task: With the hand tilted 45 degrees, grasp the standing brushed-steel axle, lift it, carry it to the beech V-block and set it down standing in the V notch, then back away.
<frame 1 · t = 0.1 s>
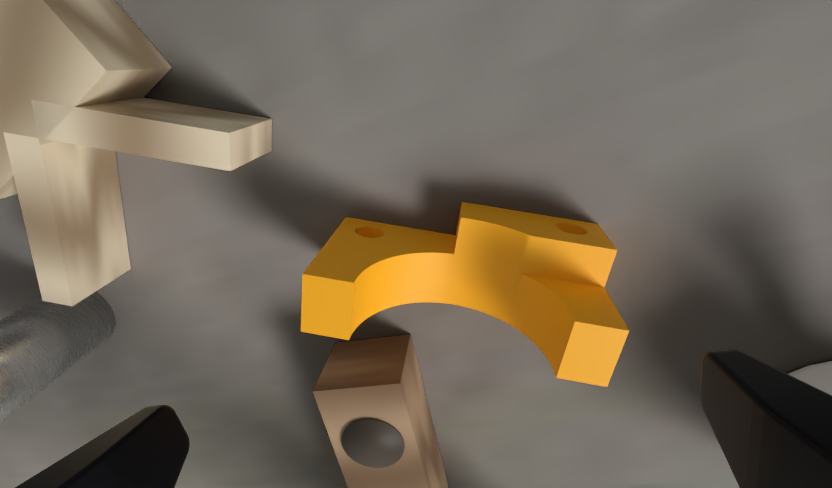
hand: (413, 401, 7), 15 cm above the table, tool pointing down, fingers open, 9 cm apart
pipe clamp: (463, 241, 22), on the table
beam: (395, 420, 27), on the table
axle: (83, 313, 26), on the table
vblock: (174, 192, 23), on the table
mug 2: (823, 383, 23), on the table
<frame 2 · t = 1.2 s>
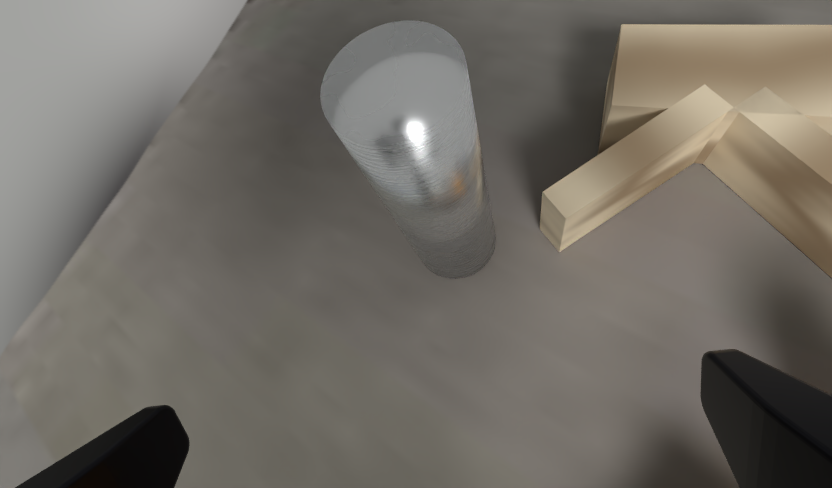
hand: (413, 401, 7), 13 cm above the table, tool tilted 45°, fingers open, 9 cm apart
axle: (455, 240, 23), on the table
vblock: (694, 241, 20), on the table
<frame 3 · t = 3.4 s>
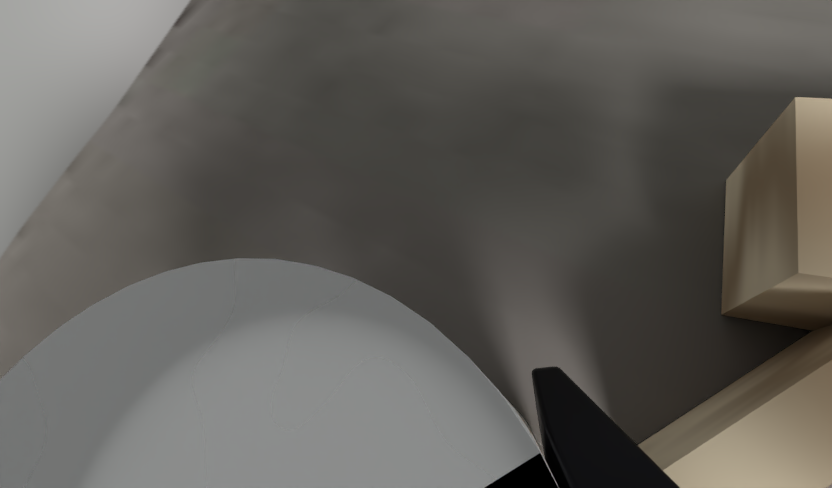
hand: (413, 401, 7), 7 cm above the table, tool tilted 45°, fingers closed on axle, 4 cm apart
axle: (468, 460, 13), on the table, touching gripper
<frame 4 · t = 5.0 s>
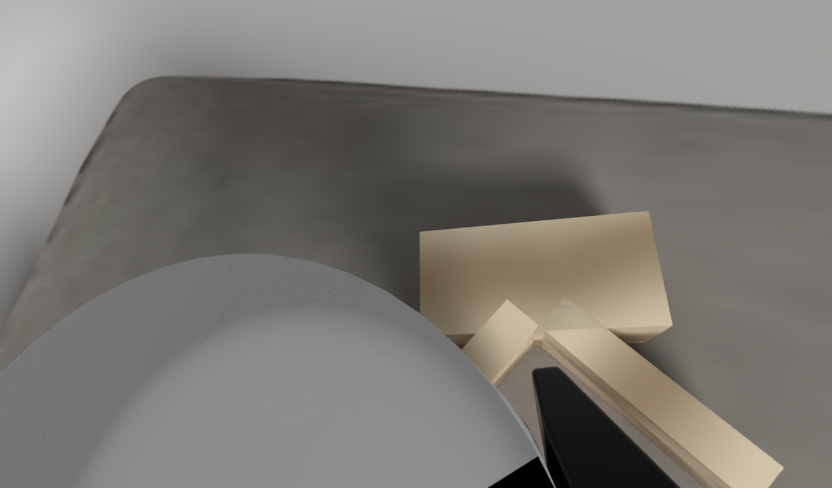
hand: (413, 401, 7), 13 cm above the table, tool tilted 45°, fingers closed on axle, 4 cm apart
axle: (467, 459, 13), point 7 cm above the table, touching gripper
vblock: (546, 443, 19), on the table
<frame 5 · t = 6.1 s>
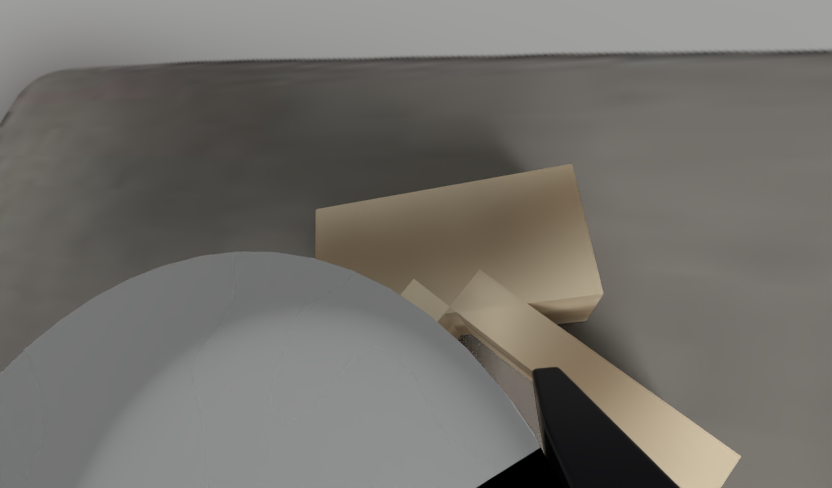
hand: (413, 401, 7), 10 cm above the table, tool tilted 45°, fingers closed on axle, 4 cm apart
axle: (468, 458, 13), point 3 cm above the table, touching gripper
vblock: (479, 447, 16), on the table
when the fingers open (7 cm above the table, at t = 6.9 s): axle stays where it is, on the table.
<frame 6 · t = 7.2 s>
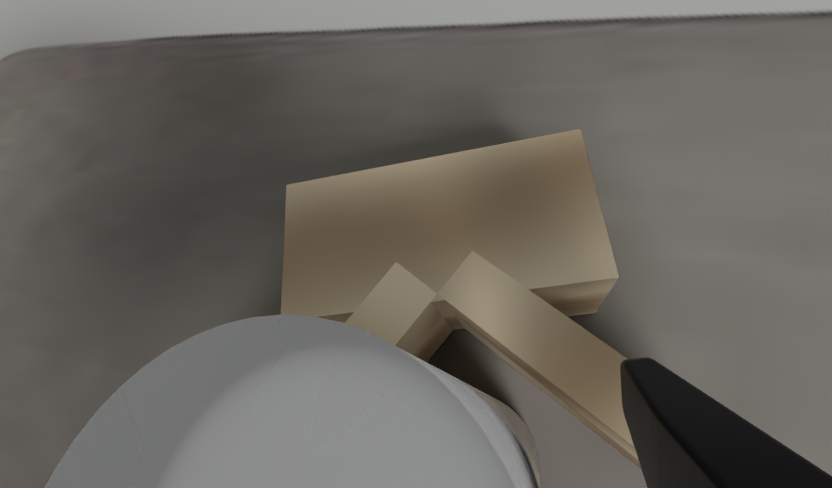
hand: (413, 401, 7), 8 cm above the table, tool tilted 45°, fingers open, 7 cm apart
axle: (471, 461, 14), on the table
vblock: (472, 457, 14), on the table
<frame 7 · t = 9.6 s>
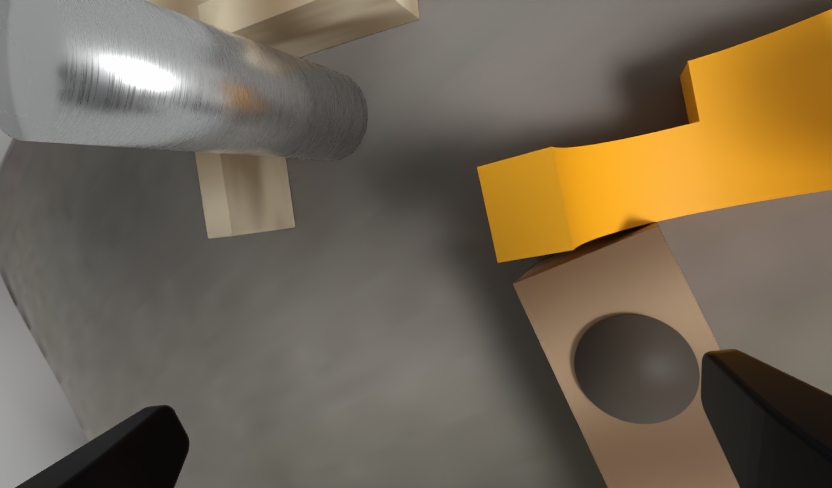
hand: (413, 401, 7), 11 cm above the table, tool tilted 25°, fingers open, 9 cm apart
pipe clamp: (707, 138, 15), on the table
beam: (663, 390, 16), on the table
axle: (330, 117, 21), on the table
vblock: (329, 115, 21), on the table
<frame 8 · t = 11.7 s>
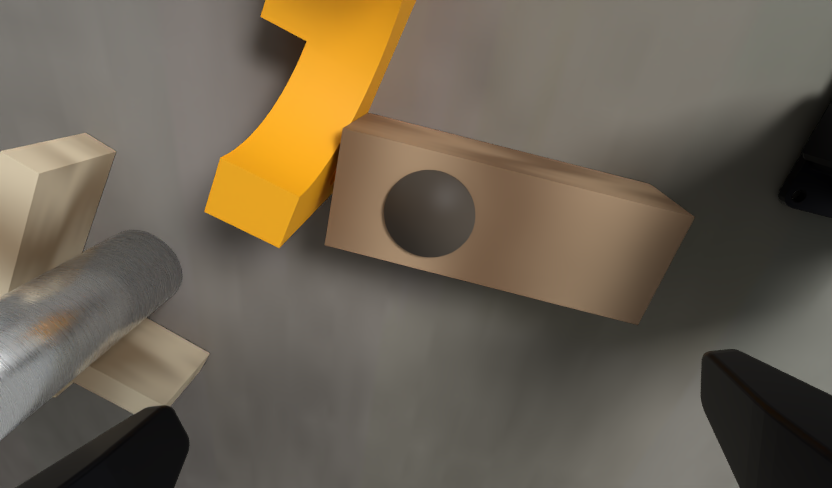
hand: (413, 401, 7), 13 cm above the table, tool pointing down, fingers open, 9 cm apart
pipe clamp: (342, 36, 18), on the table
beam: (492, 197, 19), on the table
axle: (144, 266, 23), on the table
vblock: (142, 265, 23), on the table
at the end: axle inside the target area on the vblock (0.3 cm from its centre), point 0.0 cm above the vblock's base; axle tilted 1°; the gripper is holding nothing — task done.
